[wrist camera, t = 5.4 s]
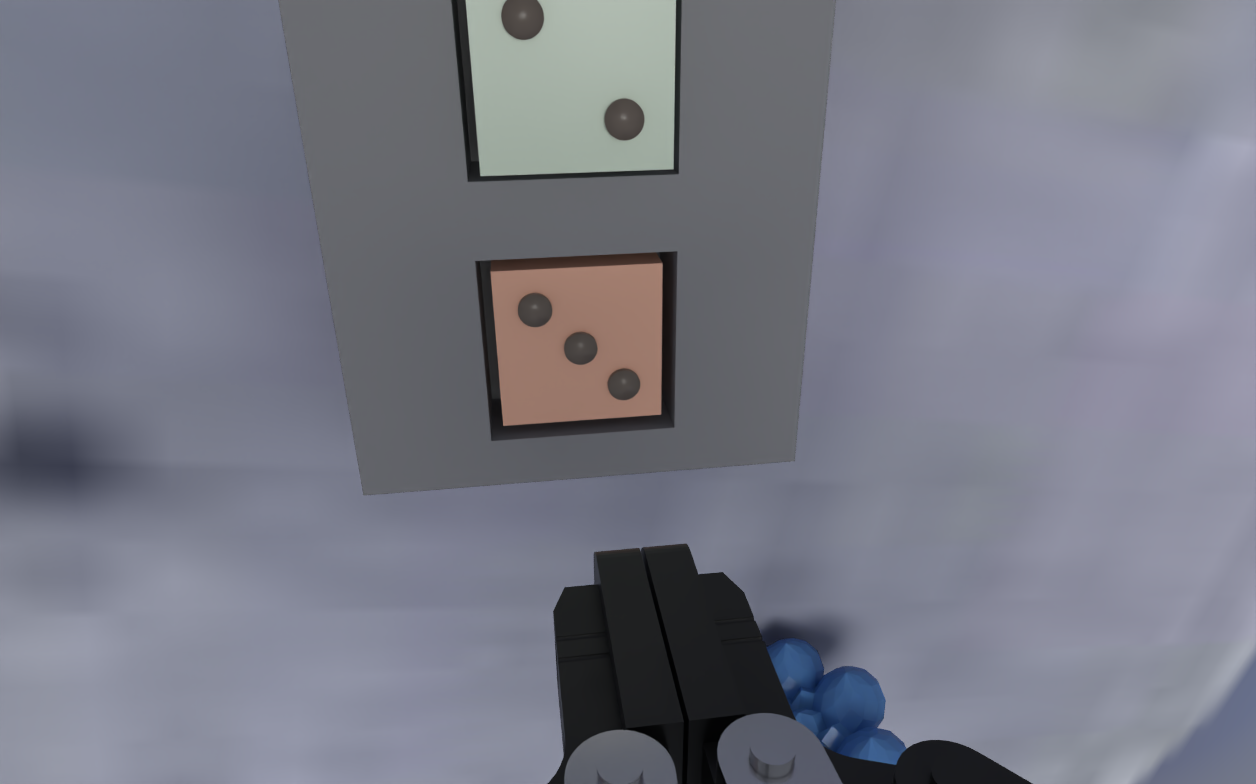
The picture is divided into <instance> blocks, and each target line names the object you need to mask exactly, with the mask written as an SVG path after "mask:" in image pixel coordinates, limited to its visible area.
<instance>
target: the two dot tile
mask: <svg viewBox="0 0 1256 784" xmlns="http://www.w3.org/2000/svg"><path fill="white" fill-rule="evenodd" d="M466 10H467V22H468V34H469V46H470V57H471V69H472V81H473V93H474V105H475V117H476V129H477V141H478V153H479V164H480V176H501V175H529V174H556V173H584V172H611V171H639V170H667V169H674V103H675V34H676V0H466Z"/></svg>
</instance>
